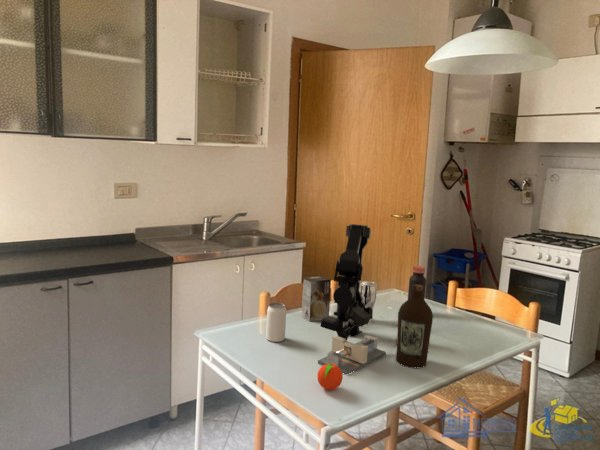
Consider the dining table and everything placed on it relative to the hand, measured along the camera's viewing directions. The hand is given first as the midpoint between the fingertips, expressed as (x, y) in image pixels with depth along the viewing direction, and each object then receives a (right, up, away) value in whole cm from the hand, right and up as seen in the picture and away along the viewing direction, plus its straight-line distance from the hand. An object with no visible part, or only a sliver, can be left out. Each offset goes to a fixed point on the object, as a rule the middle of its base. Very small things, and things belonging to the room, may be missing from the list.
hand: (343, 344), depth 159 cm
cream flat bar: (+1, -3, -4) cm, 5 cm away
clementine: (-6, -7, -24) cm, 25 cm away
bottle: (+34, +1, +48) cm, 59 cm away
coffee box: (-8, +2, +35) cm, 36 cm away
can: (-22, -1, +11) cm, 25 cm away
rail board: (+3, -4, -2) cm, 6 cm away
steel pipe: (+3, -4, -2) cm, 6 cm away
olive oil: (+21, -5, -2) cm, 22 cm away
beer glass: (+12, 0, +36) cm, 38 cm away
